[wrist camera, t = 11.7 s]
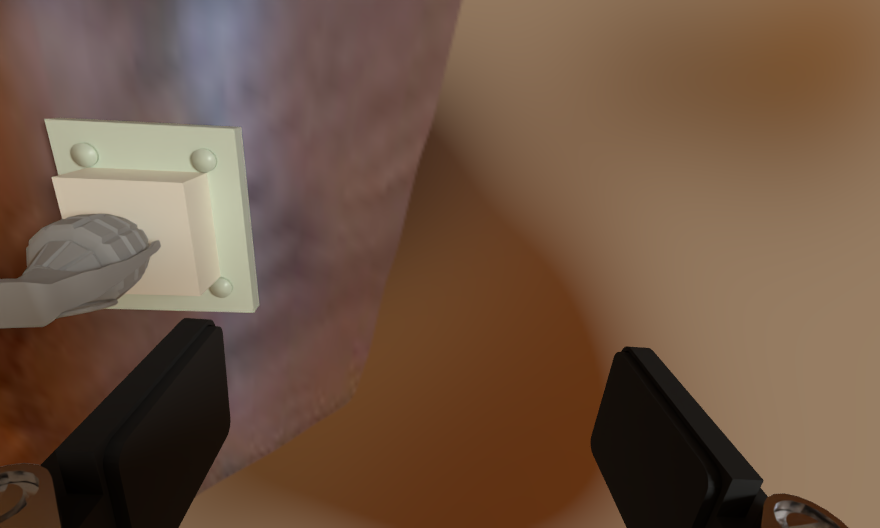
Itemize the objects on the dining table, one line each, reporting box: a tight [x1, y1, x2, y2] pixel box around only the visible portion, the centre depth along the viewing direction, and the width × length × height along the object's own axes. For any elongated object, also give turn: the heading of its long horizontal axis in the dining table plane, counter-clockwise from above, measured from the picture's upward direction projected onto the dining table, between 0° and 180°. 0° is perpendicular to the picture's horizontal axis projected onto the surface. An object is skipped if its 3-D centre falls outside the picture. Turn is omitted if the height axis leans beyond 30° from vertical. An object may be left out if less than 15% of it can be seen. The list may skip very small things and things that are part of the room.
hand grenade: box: [0, 214, 161, 328], centre depth 29 cm, size 6×6×11 cm
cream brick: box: [52, 167, 221, 296], centre depth 36 cm, size 9×9×4 cm
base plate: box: [44, 118, 259, 313], centre depth 38 cm, size 16×14×2 cm
